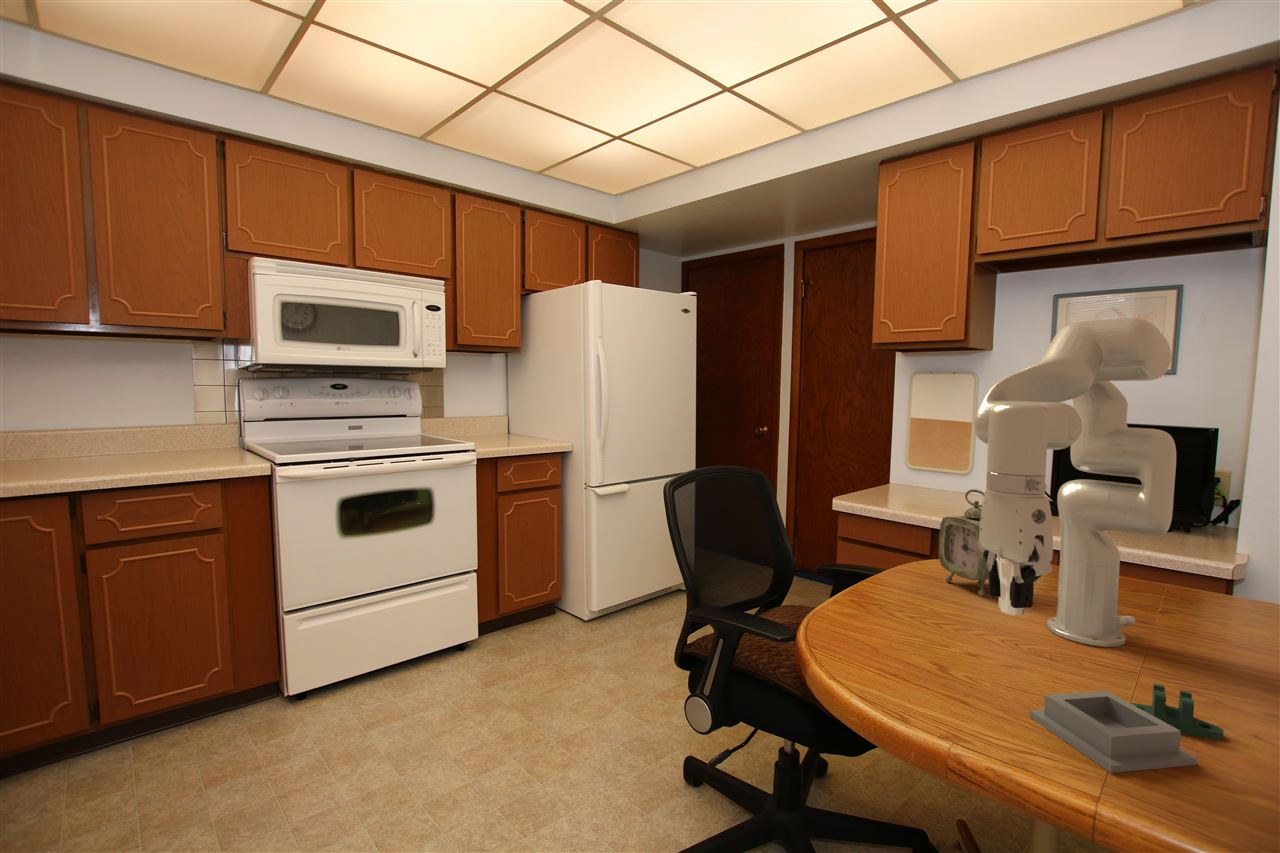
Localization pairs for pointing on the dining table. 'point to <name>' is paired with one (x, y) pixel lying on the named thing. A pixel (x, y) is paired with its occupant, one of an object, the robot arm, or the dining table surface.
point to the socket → (1113, 732)
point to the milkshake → (1006, 585)
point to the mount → (1180, 714)
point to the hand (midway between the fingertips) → (1009, 600)
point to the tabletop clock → (963, 546)
